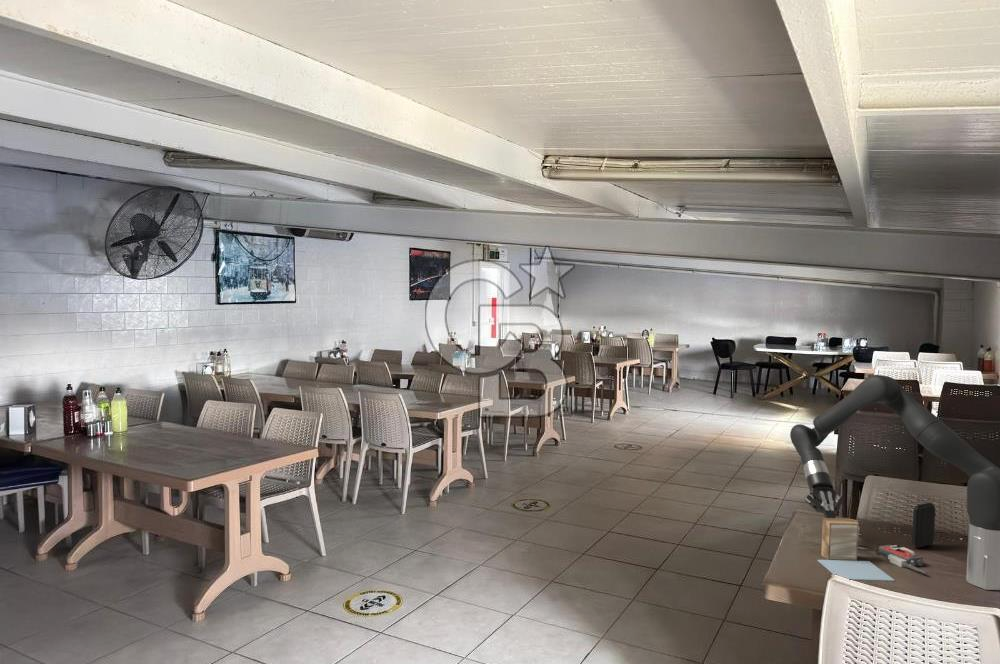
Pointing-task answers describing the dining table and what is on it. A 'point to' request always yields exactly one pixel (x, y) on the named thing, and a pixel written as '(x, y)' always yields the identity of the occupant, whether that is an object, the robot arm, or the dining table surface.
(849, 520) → the wood grain block
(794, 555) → the dining table surface
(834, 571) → the mat
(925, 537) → the carrying case or bag
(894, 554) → the walkie-talkie
